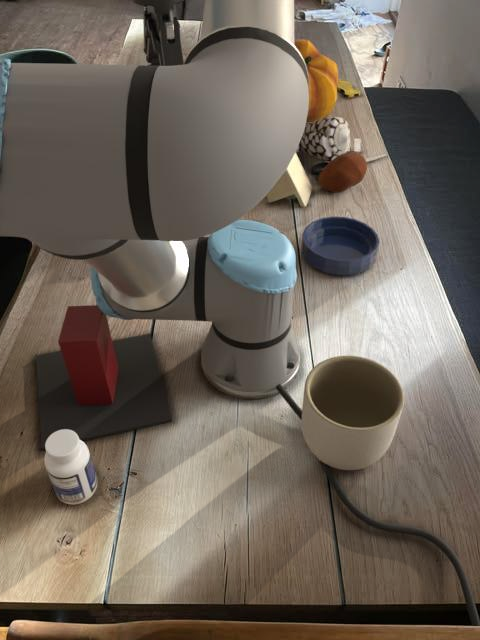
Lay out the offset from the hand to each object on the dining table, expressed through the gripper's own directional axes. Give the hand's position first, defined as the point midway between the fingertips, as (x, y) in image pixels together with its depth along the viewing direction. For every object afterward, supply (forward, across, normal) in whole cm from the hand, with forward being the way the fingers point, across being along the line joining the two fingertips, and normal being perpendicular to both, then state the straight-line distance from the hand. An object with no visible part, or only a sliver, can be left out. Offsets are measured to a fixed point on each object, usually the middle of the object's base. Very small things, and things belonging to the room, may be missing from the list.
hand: (168, 125), depth 91 cm
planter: (+29, -42, -14) cm, 53 cm away
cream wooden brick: (+18, +23, -24) cm, 38 cm away
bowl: (+29, -2, -30) cm, 42 cm away
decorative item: (+28, +69, -59) cm, 95 cm away
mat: (+29, -23, +17) cm, 41 cm away
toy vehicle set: (+27, +37, -45) cm, 64 cm away
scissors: (+28, +31, -56) cm, 70 cm away
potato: (+25, +24, -39) cm, 52 cm away
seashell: (+21, +37, -39) cm, 58 cm away
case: (+28, -23, +17) cm, 40 cm away
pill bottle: (+29, -39, +22) cm, 53 cm away
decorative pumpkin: (+21, +49, -37) cm, 65 cm away
